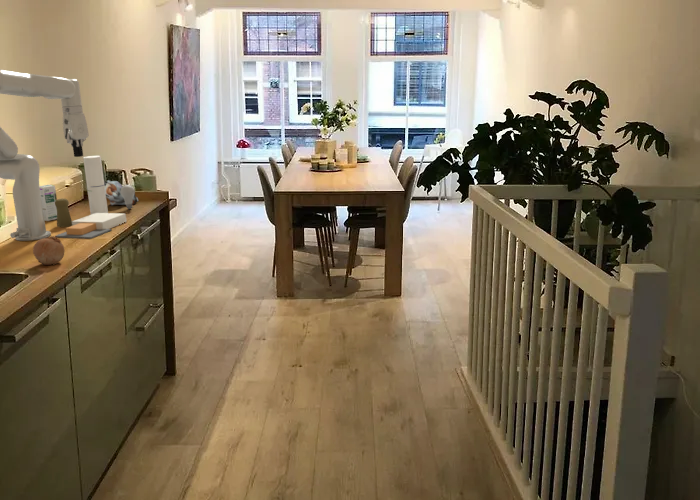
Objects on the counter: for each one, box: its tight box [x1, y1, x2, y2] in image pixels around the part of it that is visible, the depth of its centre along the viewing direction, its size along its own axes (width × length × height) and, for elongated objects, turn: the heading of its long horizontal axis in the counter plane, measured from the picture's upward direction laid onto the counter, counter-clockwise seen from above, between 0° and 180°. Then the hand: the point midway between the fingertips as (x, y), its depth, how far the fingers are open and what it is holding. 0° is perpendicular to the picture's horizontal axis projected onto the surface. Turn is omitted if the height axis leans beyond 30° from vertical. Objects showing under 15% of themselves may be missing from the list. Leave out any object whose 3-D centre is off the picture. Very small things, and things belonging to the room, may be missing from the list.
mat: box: [54, 228, 112, 240], centre depth 280 cm, size 13×16×1 cm
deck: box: [72, 212, 127, 229], centre depth 292 cm, size 16×14×4 cm
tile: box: [65, 223, 96, 235], centre depth 280 cm, size 9×7×2 cm
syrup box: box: [39, 184, 58, 222], centre depth 308 cm, size 6×6×14 cm
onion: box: [32, 235, 66, 266], centre depth 238 cm, size 10×9×10 cm
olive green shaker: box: [55, 198, 73, 228], centre depth 295 cm, size 6×6×11 cm
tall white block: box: [82, 155, 109, 215], centre depth 313 cm, size 7×7×25 cm
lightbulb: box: [120, 184, 136, 210], centre depth 323 cm, size 6×6×11 cm
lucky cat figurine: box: [104, 179, 139, 206], centre depth 335 cm, size 15×12×14 cm
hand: (78, 156), depth 295 cm, fingers closed
